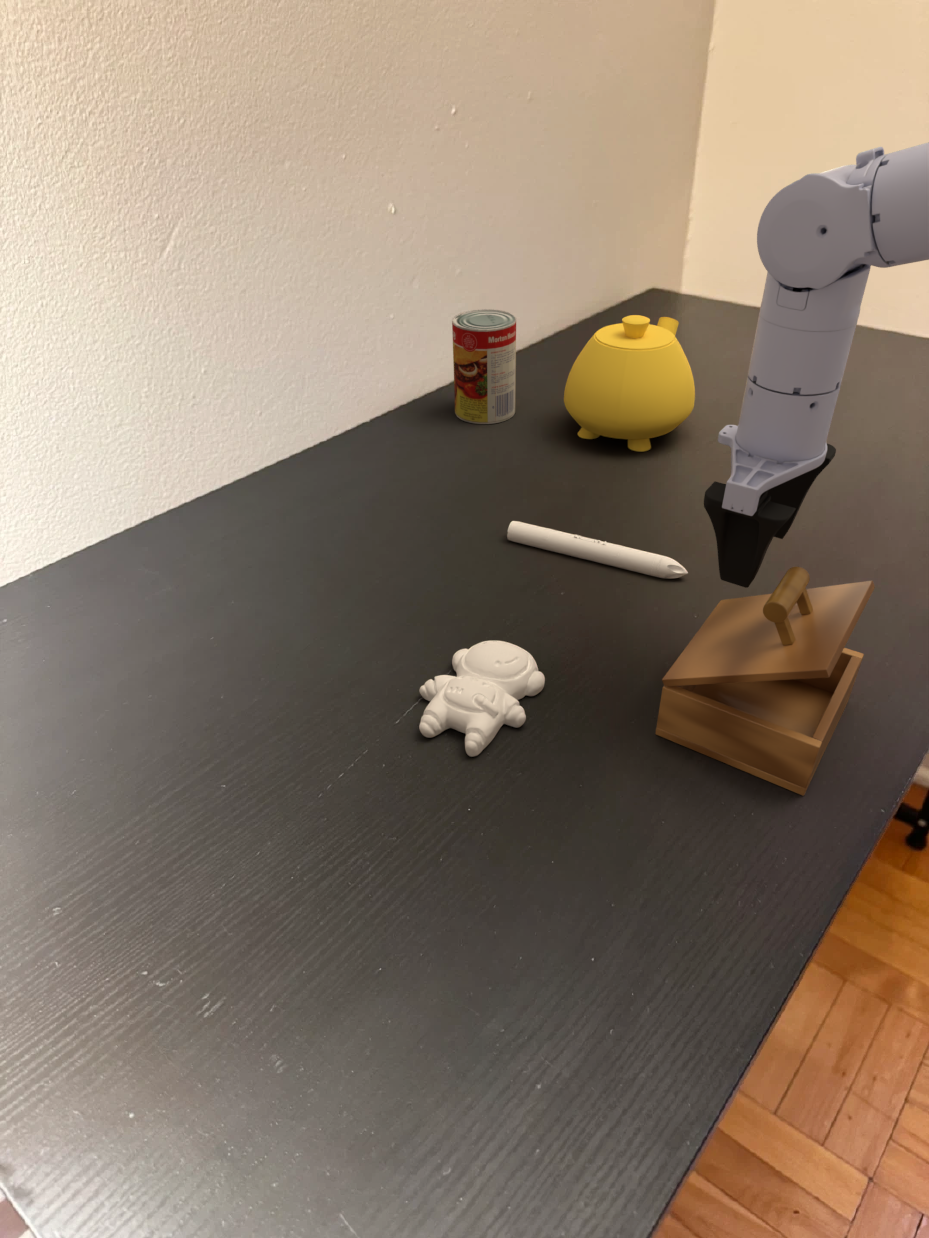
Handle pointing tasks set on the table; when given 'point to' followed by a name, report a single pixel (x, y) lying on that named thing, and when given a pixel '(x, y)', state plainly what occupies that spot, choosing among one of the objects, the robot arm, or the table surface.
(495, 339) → the canned food
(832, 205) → the robot arm
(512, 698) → the astronaut figurine
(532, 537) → the marker
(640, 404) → the teapot
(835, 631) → the brown piece
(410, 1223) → the table surface
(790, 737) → the keepsake box
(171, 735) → the table surface
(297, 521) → the table surface
